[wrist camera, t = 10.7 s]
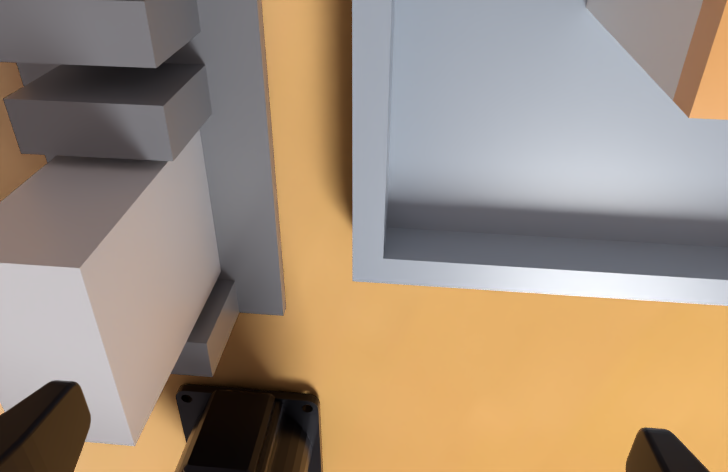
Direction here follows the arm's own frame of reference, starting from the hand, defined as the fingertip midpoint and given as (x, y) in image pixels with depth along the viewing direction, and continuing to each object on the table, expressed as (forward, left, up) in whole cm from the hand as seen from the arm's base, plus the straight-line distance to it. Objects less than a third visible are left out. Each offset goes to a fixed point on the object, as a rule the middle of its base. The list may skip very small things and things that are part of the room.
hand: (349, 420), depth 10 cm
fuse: (-3, +8, -12) cm, 14 cm away
